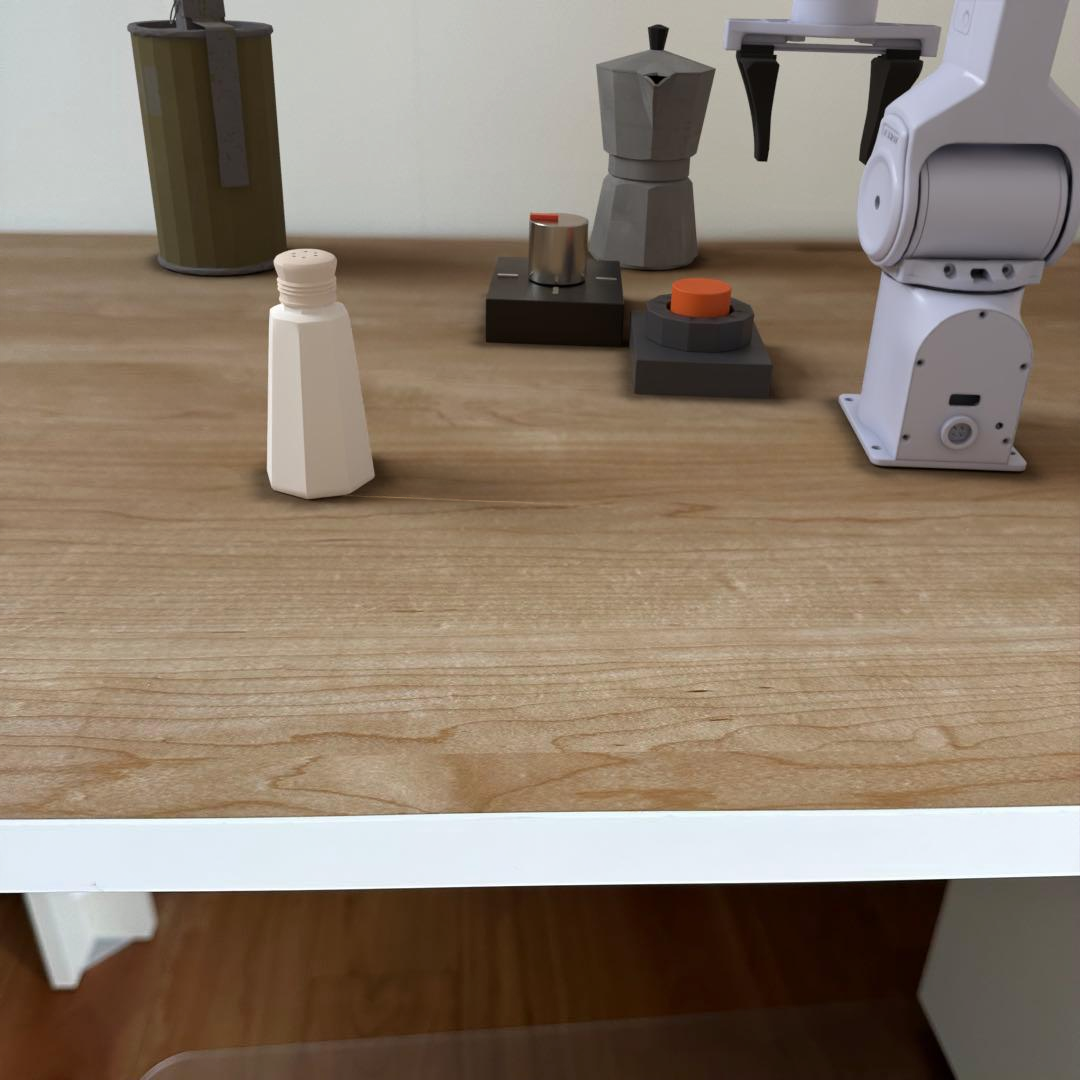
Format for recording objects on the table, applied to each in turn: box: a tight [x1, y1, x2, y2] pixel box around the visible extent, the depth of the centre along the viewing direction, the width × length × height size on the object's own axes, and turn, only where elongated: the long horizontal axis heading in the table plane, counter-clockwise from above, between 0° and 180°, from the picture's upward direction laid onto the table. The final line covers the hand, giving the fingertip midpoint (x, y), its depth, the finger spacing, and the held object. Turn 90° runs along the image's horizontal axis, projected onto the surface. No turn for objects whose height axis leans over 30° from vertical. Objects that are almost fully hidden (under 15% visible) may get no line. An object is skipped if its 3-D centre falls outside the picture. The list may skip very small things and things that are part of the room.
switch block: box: [627, 293, 774, 400], centre depth 71 cm, size 10×8×4 cm
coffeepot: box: [587, 23, 717, 271], centre depth 93 cm, size 15×9×18 cm, turn 176°
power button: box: [670, 277, 733, 318], centre depth 70 cm, size 4×4×2 cm
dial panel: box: [485, 256, 625, 348], centre depth 79 cm, size 11×9×3 cm
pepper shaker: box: [266, 248, 376, 500], centre depth 54 cm, size 5×5×11 cm
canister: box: [126, 0, 290, 277], centre depth 87 cm, size 11×10×20 cm
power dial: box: [527, 212, 589, 286], centre depth 78 cm, size 4×4×4 cm
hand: (813, 161), depth 83 cm, fingers open, 7 cm apart
